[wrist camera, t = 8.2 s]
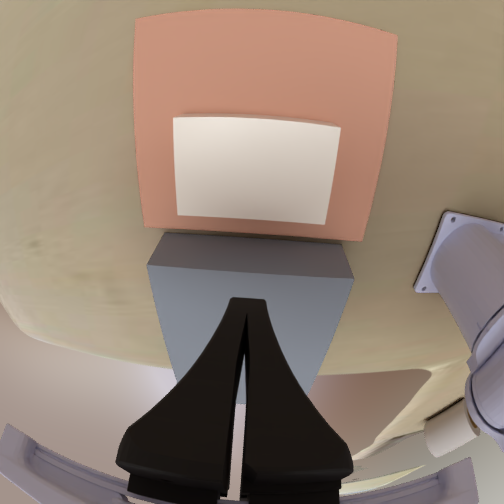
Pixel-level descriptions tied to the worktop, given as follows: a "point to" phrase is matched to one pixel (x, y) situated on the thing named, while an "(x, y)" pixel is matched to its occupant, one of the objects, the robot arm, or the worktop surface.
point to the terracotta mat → (263, 101)
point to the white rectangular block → (254, 166)
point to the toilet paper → (450, 429)
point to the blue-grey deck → (249, 295)
